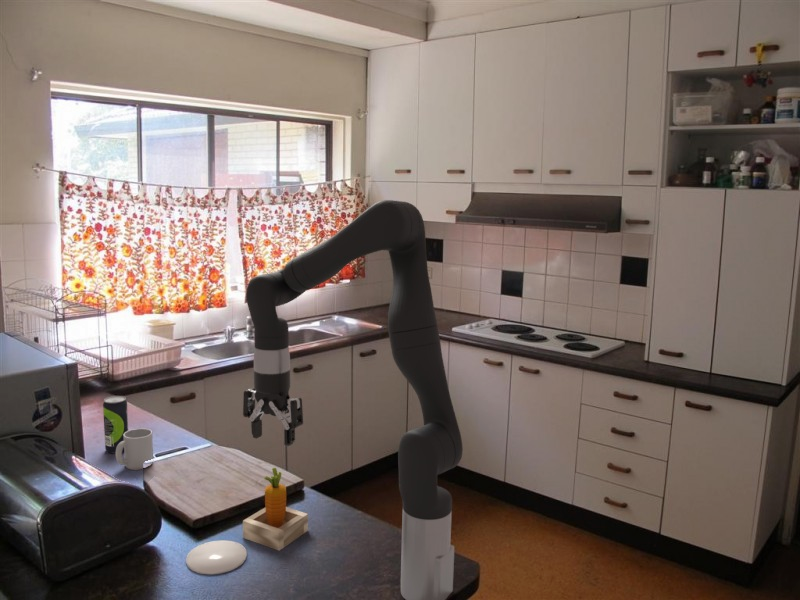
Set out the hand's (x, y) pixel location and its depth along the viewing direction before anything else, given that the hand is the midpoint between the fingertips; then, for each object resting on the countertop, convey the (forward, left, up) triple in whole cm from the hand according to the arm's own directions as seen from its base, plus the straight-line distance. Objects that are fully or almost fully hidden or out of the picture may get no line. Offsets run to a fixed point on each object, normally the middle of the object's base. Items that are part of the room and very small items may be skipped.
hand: (272, 440), depth 150 cm
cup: (+55, -9, -22) cm, 60 cm away
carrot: (0, -1, -22) cm, 22 cm away
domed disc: (+4, +13, -22) cm, 26 cm away
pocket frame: (0, -1, -22) cm, 22 cm away
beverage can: (+68, -14, -22) cm, 73 cm away
